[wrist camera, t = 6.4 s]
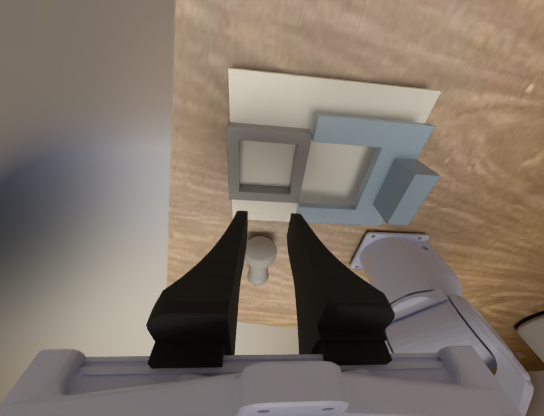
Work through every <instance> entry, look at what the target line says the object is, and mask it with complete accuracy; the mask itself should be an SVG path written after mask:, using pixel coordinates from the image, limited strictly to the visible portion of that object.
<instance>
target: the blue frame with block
mask: <svg viewBox="0 0 544 416" xmlns="http://www.w3.org/2000/svg"><path fill="white" fill-rule="evenodd" d="M434 127H435V126H433V125H430V124H427V123H416V122H405V121H394V120H384V119H373V118H362V117H351V116H341V115H330V114H319V113H317V115H316V120H315V124H314V129H313V134H312V141H313V142H319V143H331V144H344V145H356V146H368V147H377V148H376V151H375V153H374V155H373V158H372V160H371V163H370V165H369V168H368V170H367V173H366V175H365V177H364V180H363V182H362V185H361V187H360V190H359V192H358V194H357V197H356V199H355V202H354V204H353V205H335V204H317V203H299V202H298V206H297V211H296V213H298V214H301V215H302V216H303V218H304V219H305V221H306V222H307V223H326V224H348V225H369V226H380V225H381V223H382V222H383V220H384V221H385V222H386V224H391V225H409V223H410V222H411V220H412V219H413V217H414V216H415V214H416V213H417V211H418V209H419V208H420V206H421V205H422V203H423V202H424V200H425V199H426V197H427V196H428V194H429V193H430V191H431V190H432V188H433V187H434V185H435V184H436V182H437V181H438V179H439V178H440V175H438V174H437V173H435V172H434V171H433V170H431V169H430V168H428V167H427V166H425V165H424V164H422V163H421V162H419V161H418V160H417V158H418V156H419V154H420V153H421V151H422V149H423V147H424V145H425V144H426V142H427V140H428V138H429V136H430V134H431V133H432V131H433V129H434Z"/></svg>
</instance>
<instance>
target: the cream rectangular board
mask: <svg viewBox="0 0 544 416" xmlns="http://www.w3.org/2000/svg"><path fill="white" fill-rule="evenodd" d="M228 74H229V107H230V122H229V123H228V125H227V127H226V131H227V155H228V180H229V199H230V200H232V208H233V218H234V216H235V214H236V212H237V211H248V220H264V221H286V222H290V217H291V213H296V211H297V206H298V202H299V203H317V204H335V205H353V204H354V202H355V199H356V197H357V194H358V192H359V190H360V187H361V185H362V182H363V180H364V177H365V175H366V173H367V170H368V168H369V165H370V163H371V160H372V158H373V155H374V153H375V151H376V148H377V147H368V146H356V145H344V144H331V143H319V142H313V141H312V134H313V129H314V124H315V120H316V115H317V113H319V114H330V115H341V116H351V117H362V118H373V119H384V120H394V121H405V122H416V123H425V122H426V120H427V118H428V116H429V114H430V112H431V110H432V108H433V106H434V104H435V102H436V100H437V98H438V97H439V95H440V93H441V91H437V90H432V89H426V88H417V87H407V86H398V85H389V84H380V83H371V82H362V81H352V80H343V79H334V78H325V77H316V76H306V75H297V74H288V73H279V72H270V71H260V70H251V69H242V68H233V67H230V68H228Z"/></svg>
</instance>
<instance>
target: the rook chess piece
mask: <svg viewBox="0 0 544 416" xmlns="http://www.w3.org/2000/svg"><path fill="white" fill-rule="evenodd" d="M276 254H277V248H276V246H275V244H274V242H272V241H271V240H270V239H269V238H266V237H264V236H257V237H253V238H251V239H250V240H248V241H247V245H246V253H245V260H246V262H247V263H248V264H249V265H250V268H249V272H248V275H247V278H248V280H249V282H250V283H251V284H253V285H254V286H256V285H259V286H261V285H263V284H264V283H266V282H267V280H268V278H269V274H268V268H267V267H268V266H269V265H271V264H272V263H273V261H274V259H275V257H276Z"/></svg>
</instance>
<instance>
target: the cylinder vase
mask: <svg viewBox="0 0 544 416" xmlns="http://www.w3.org/2000/svg"><path fill="white" fill-rule="evenodd" d="M517 333H518V334H519V335H520V337H521V338H522V339H523V340H524V341H525V342H526V343H527V344H528V345H529V346H530V348H531V349H532V350H533V351H534V352H535V353H536V354H537V355H538V356H539V357H540V358H541V360H542V361H543V362H544V315H540V316H537V317H535V318H532V319H530V320H528V321H526V322H524V323H522V324H521V325H520V326H519V327H518V328H517Z"/></svg>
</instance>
